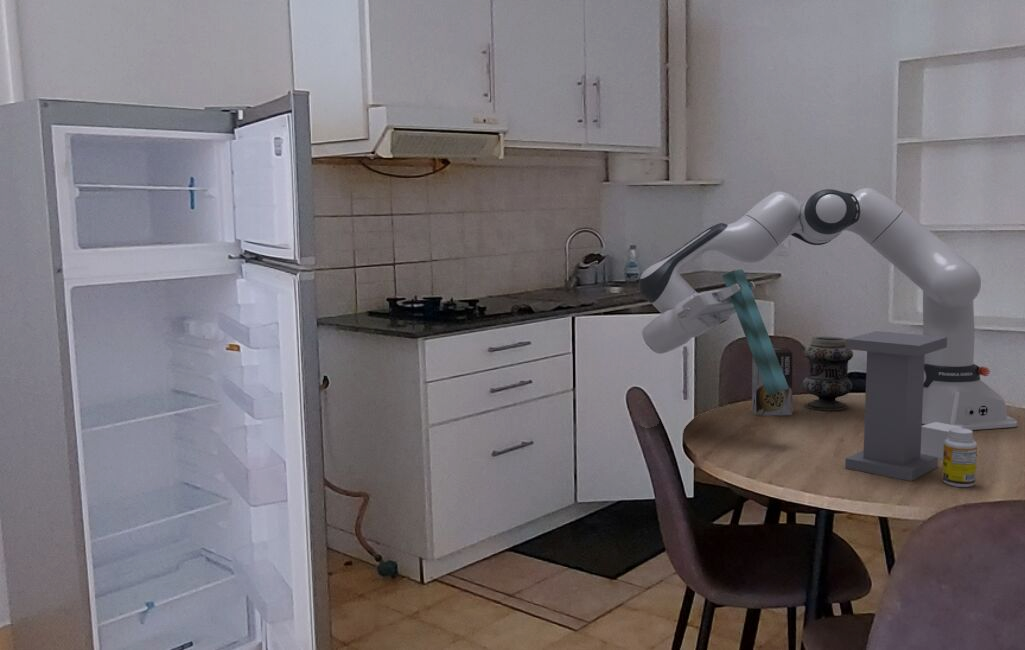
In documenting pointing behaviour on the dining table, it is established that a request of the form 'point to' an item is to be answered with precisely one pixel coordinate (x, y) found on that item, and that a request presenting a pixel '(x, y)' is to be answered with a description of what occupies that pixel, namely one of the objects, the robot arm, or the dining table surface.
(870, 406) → the pedestal
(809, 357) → the apothecary jar
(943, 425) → the grey cube piece
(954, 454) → the supplement bottle
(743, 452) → the dining table surface
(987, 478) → the dining table surface
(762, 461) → the dining table surface
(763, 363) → the teal block
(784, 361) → the coffee box
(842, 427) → the dining table surface
